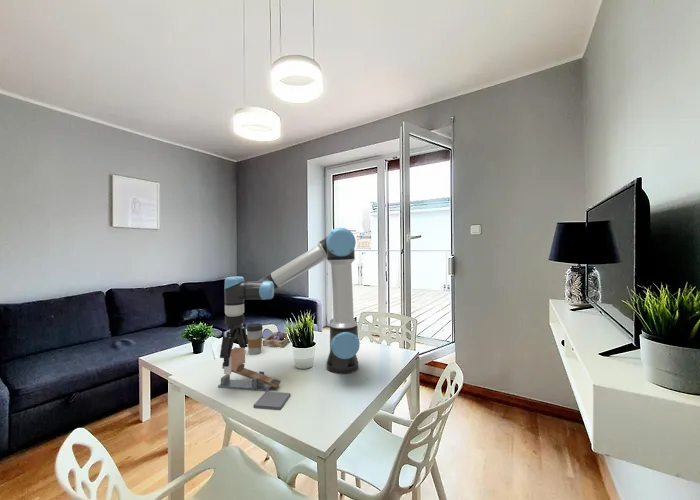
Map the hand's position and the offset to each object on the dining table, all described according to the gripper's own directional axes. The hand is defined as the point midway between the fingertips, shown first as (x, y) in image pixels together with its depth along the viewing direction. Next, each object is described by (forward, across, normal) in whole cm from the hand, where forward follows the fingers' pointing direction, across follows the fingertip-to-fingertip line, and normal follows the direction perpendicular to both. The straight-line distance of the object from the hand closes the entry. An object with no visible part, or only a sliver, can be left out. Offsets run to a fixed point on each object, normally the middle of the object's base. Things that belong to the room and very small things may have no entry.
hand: (235, 368), depth 121 cm
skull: (+7, -53, -4) cm, 53 cm away
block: (0, 0, -1) cm, 1 cm away
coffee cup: (+7, -36, -9) cm, 38 cm away
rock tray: (+7, -54, -3) cm, 55 cm away
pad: (+7, +10, +21) cm, 24 cm away
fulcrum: (+7, 0, +5) cm, 9 cm away
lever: (+3, 0, +7) cm, 7 cm away
